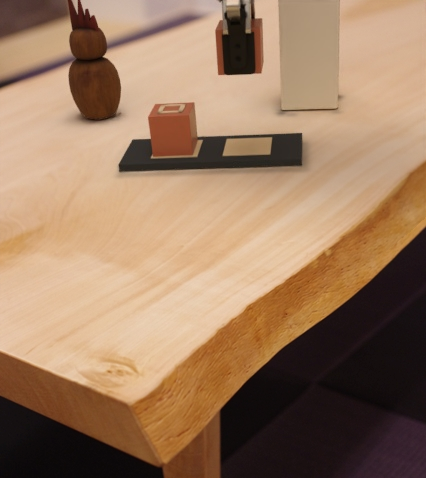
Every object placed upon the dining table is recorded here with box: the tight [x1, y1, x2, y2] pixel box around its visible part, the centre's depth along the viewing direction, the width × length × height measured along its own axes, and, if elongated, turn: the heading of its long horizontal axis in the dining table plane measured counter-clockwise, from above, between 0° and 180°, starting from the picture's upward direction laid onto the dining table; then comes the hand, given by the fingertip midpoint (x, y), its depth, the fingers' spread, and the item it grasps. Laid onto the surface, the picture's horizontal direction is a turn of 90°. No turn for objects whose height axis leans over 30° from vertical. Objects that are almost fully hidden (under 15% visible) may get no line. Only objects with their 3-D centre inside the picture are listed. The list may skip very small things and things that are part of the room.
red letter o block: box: [147, 101, 199, 156], centre depth 83 cm, size 4×4×5 cm
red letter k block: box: [214, 17, 265, 76], centre depth 77 cm, size 4×4×5 cm
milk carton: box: [277, 0, 341, 111], centre depth 92 cm, size 7×7×19 cm
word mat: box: [118, 132, 303, 172], centre depth 84 cm, size 20×8×1 cm, turn 84°
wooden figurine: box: [67, 0, 122, 120], centre depth 95 cm, size 7×6×15 cm
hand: (241, 65), depth 78 cm, fingers closed on red letter k block, 4 cm apart
